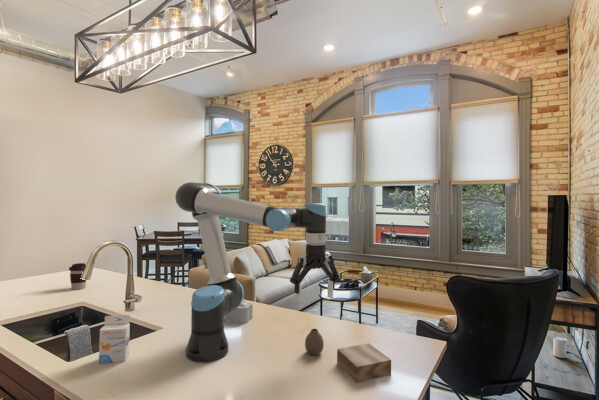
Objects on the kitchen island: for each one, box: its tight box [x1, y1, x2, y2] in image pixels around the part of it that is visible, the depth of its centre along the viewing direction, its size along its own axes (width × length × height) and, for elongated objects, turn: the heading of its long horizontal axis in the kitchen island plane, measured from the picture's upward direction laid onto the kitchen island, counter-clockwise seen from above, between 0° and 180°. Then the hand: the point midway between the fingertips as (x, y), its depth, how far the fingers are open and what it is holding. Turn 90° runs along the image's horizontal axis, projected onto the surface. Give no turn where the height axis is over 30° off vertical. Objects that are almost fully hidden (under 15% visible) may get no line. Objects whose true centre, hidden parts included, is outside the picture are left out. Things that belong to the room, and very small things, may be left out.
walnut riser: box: [336, 343, 392, 384], centre depth 110 cm, size 13×13×5 cm
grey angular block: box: [224, 298, 254, 325], centre depth 154 cm, size 10×13×9 cm
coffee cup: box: [68, 262, 87, 291], centre depth 201 cm, size 10×10×15 cm
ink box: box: [98, 314, 131, 364], centre depth 114 cm, size 8×5×15 cm, turn 103°
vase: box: [304, 328, 324, 357], centre depth 121 cm, size 7×7×9 cm
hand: (314, 299), depth 124 cm, fingers open, 13 cm apart
